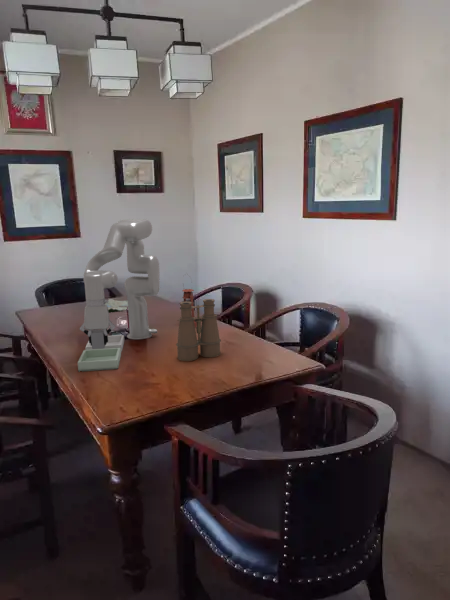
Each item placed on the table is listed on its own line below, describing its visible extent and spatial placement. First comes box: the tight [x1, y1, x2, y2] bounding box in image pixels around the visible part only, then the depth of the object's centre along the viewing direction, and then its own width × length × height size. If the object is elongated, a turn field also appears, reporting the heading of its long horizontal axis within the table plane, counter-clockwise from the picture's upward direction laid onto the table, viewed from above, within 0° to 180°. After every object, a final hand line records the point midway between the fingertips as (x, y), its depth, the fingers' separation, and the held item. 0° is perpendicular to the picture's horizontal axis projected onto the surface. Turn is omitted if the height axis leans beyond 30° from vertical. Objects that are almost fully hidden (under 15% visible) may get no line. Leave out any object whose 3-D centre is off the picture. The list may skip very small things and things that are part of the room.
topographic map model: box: [105, 298, 128, 314], centre depth 296 cm, size 36×29×5 cm
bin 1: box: [85, 334, 125, 353], centre depth 210 cm, size 16×16×4 cm
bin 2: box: [77, 348, 122, 373], centre depth 191 cm, size 16×16×4 cm
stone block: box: [91, 329, 105, 349], centre depth 189 cm, size 5×5×7 cm
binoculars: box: [175, 298, 222, 362], centre depth 196 cm, size 21×10×25 cm, turn 113°
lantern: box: [182, 273, 197, 328], centre depth 244 cm, size 10×10×30 cm
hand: (98, 343), depth 189 cm, fingers closed on stone block, 5 cm apart
